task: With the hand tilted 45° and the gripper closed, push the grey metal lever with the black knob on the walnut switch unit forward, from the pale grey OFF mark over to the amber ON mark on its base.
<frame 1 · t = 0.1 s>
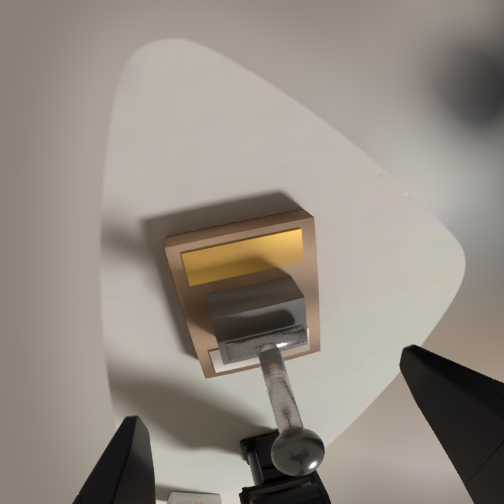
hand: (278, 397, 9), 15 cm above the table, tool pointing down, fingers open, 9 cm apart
switch unit: (248, 294, 25), on the table
small box: (192, 497, 38), on the table
lever: (283, 403, 17), point 10 cm above the table, hinge at -28.0°
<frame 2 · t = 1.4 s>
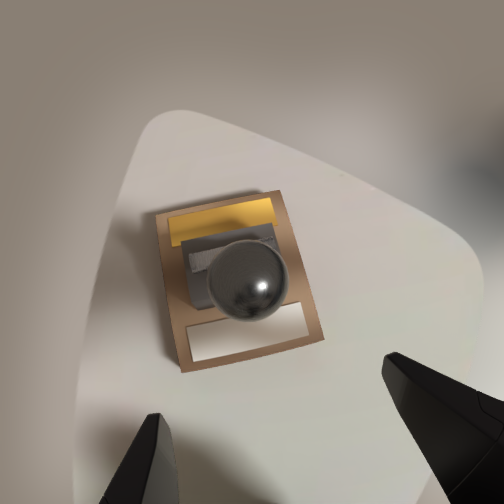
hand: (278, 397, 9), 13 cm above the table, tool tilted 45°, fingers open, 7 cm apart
switch unit: (234, 281, 24), on the table
lever: (239, 266, 15), point 10 cm above the table, hinge at -28.0°
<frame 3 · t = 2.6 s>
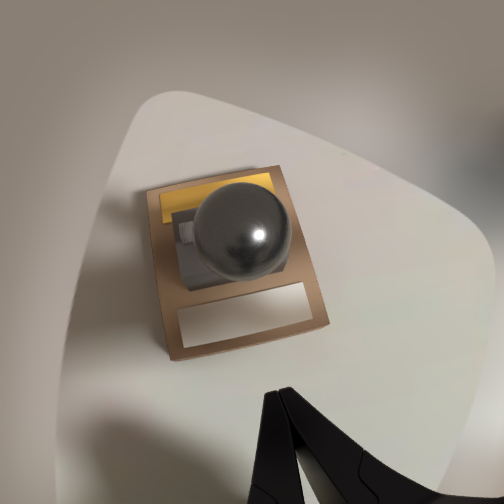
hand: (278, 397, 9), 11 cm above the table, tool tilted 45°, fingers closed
switch unit: (230, 262, 22), on the table
lever: (233, 227, 13), point 10 cm above the table, hinge at -28.0°
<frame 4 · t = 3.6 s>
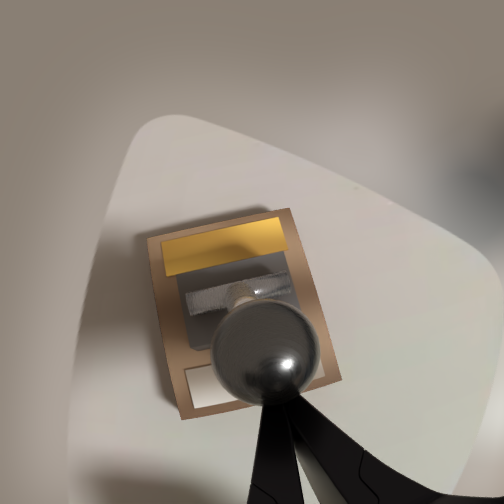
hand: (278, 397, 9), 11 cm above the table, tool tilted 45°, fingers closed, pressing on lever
switch unit: (238, 314, 21), on the table
lever: (249, 318, 11), point 10 cm above the table, hinge at -27.3°, touching gripper
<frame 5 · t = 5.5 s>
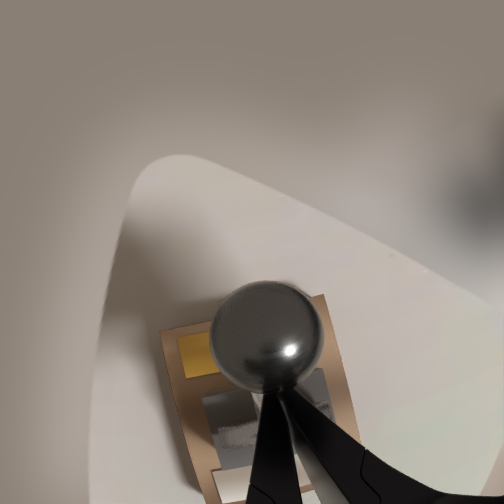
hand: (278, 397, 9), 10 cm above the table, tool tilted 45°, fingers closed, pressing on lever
switch unit: (264, 407, 18), on the table
lever: (271, 389, 10), point 9 cm above the table, hinge at 33.2°, touching gripper
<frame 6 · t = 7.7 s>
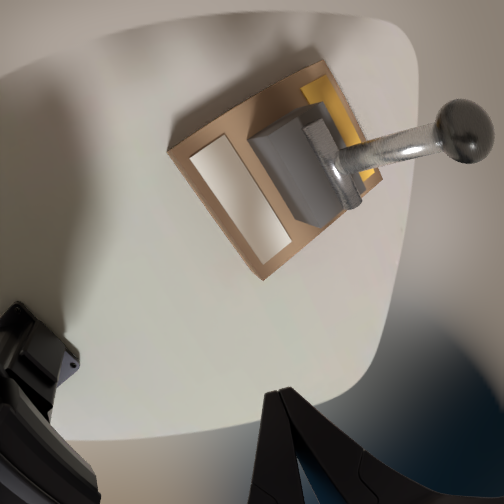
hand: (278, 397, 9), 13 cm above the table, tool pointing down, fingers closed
switch unit: (281, 163, 21), on the table
lever: (405, 145, 13), point 9 cm above the table, hinge at 32.9°
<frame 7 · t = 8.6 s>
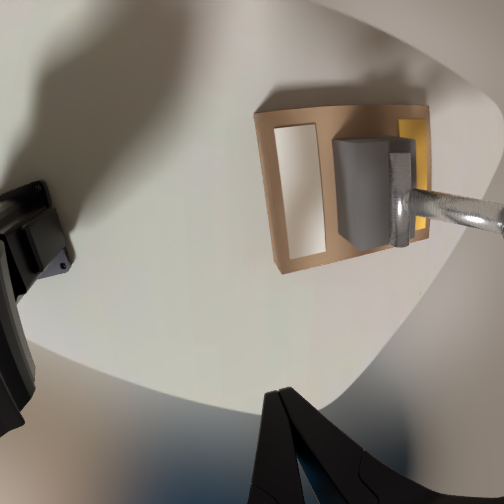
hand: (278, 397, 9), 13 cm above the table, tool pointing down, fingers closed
switch unit: (349, 177, 21), on the table
lever: (471, 212, 12), point 9 cm above the table, hinge at 32.9°
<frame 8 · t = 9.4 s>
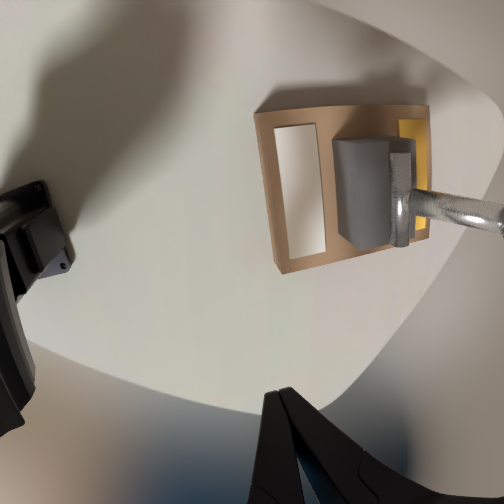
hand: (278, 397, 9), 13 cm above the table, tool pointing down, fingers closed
switch unit: (349, 177, 21), on the table
lever: (471, 212, 12), point 9 cm above the table, hinge at 32.9°
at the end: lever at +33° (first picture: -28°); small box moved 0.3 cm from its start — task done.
